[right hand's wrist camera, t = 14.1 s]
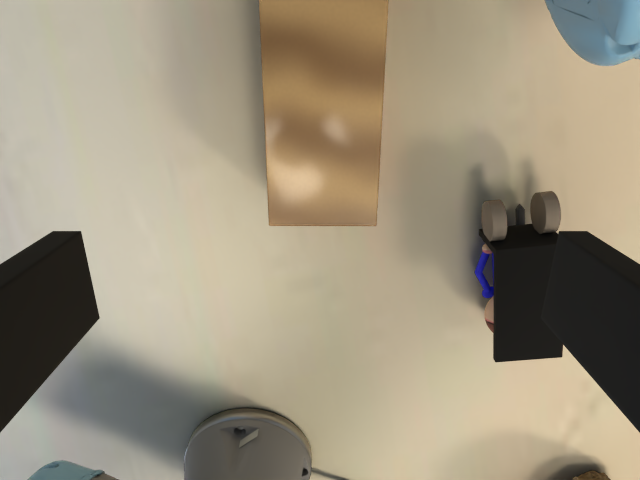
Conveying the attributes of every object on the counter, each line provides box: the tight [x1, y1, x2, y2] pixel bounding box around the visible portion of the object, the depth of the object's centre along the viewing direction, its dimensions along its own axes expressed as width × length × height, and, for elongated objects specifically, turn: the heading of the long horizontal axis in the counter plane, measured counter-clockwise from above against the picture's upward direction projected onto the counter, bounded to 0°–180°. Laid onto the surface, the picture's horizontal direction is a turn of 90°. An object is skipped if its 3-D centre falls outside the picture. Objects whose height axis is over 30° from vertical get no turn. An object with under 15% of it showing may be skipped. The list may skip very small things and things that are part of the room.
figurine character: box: [475, 191, 563, 362], centre depth 41 cm, size 7×8×15 cm
